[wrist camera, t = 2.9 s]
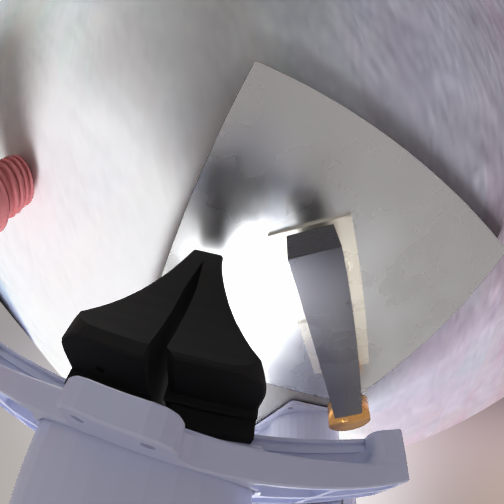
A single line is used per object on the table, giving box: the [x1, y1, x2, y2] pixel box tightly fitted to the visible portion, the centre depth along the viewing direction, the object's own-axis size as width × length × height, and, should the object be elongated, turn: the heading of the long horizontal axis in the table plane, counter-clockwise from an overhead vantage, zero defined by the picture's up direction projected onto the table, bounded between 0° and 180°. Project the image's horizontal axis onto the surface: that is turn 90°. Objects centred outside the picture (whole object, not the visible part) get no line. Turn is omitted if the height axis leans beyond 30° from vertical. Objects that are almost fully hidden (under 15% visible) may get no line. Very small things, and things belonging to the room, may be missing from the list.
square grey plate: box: [161, 61, 504, 399], centre depth 15 cm, size 18×18×2 cm
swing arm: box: [286, 224, 370, 431], centre depth 15 cm, size 17×3×2 cm, turn 19°
